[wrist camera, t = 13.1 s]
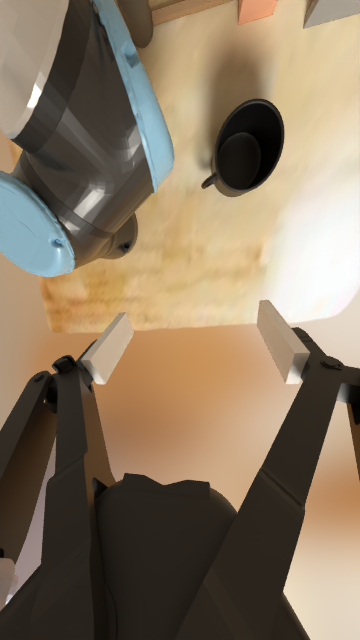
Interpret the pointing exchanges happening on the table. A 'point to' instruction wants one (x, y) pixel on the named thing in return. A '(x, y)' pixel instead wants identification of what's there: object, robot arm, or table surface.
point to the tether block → (182, 14)
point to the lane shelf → (330, 11)
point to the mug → (247, 148)
